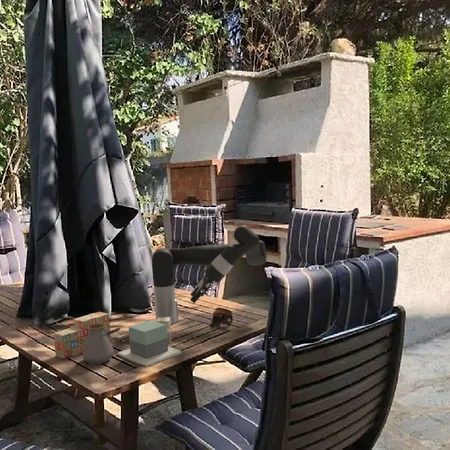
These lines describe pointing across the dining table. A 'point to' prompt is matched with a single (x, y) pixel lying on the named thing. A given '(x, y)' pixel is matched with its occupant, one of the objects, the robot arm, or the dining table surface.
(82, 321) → the stack of blocks
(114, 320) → the dining table surface
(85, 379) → the dining table surface
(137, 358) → the tower base
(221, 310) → the brown toy animal
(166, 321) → the cream brick
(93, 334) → the coffee pot
